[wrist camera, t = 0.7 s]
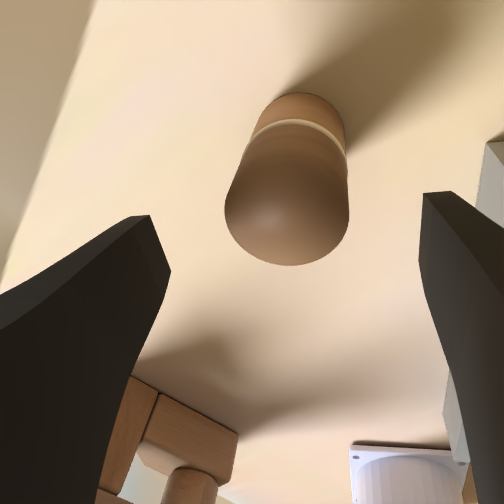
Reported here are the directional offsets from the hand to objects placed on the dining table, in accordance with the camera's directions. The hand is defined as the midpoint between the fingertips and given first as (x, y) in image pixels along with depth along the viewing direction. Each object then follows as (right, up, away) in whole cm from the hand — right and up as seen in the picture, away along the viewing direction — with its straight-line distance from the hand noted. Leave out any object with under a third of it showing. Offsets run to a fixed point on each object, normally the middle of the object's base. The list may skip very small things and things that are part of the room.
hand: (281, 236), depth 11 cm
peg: (+1, +4, +6) cm, 7 cm away
